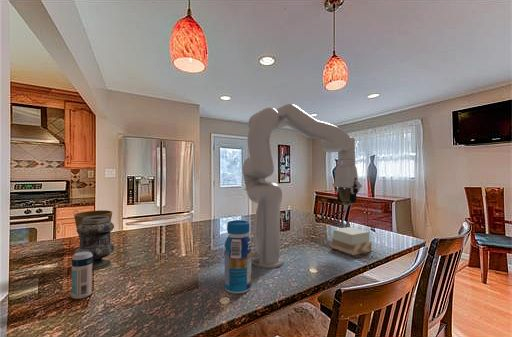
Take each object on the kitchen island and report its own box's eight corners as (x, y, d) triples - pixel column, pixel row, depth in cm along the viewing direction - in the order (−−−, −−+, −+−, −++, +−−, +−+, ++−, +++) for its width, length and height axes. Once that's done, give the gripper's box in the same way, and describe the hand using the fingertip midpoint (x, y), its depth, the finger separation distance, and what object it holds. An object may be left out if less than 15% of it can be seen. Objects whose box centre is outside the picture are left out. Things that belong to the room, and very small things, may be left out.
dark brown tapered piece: (352, 204, 117) (352, 187, 117) (357, 206, 110) (357, 188, 110) (336, 203, 118) (336, 187, 118) (340, 205, 110) (340, 188, 110)
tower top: (352, 245, 106) (352, 234, 106) (333, 239, 115) (333, 229, 115) (369, 241, 111) (369, 232, 111) (349, 236, 121) (349, 227, 121)
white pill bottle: (95, 291, 72) (96, 250, 72) (84, 300, 67) (85, 256, 67) (78, 292, 71) (79, 250, 72) (66, 300, 67) (67, 256, 67)
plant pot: (71, 246, 114) (72, 212, 115) (108, 240, 124) (108, 209, 125) (75, 254, 103) (76, 216, 104) (115, 247, 113) (115, 213, 113)
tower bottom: (353, 256, 105) (353, 245, 105) (332, 248, 116) (332, 238, 116) (371, 251, 111) (371, 241, 111) (349, 244, 121) (349, 235, 121)
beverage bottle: (218, 287, 75) (218, 221, 75) (239, 279, 80) (239, 218, 81) (236, 297, 69) (236, 226, 69) (257, 288, 74) (257, 222, 75)
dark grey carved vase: (116, 258, 99) (116, 213, 100) (110, 269, 88) (111, 219, 88) (80, 262, 95) (81, 215, 95) (70, 274, 84) (71, 221, 84)
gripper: (326, 163, 120) (326, 200, 119) (356, 162, 104) (356, 204, 104) (337, 164, 123) (337, 199, 123) (368, 163, 108) (368, 203, 108)
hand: (346, 201), depth 114 cm, fingers closed on dark brown tapered piece, 6 cm apart
